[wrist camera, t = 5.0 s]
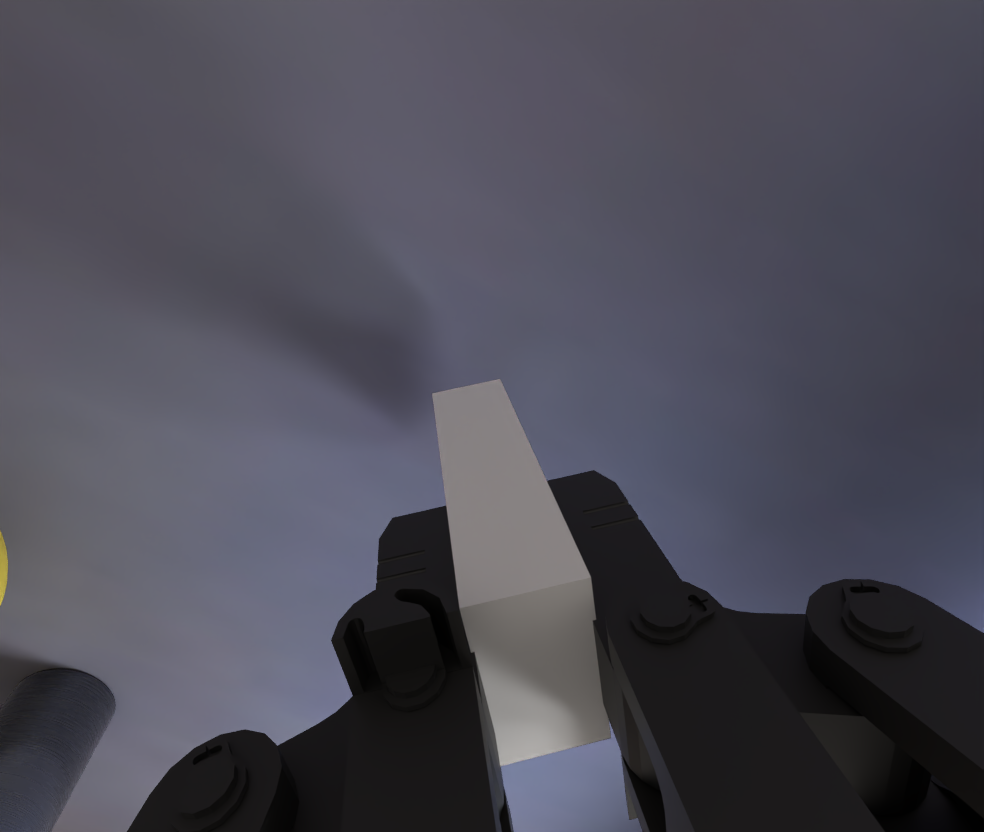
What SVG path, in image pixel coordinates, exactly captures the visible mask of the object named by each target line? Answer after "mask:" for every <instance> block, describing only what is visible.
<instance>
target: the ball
mask: <svg viewBox="0 0 984 832" xmlns="http://www.w3.org/2000/svg"><path fill="white" fill-rule="evenodd" d="M7 572H8V559H7V551H6V545H5V542H4V539H3V536H2V533H1V531H0V605H1V603H2V600H3V597H4V593H5V589H6V585H7Z"/></svg>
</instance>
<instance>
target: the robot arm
mask: <svg viewBox="0 0 984 832" xmlns="http://www.w3.org/2000/svg"><path fill="white" fill-rule="evenodd" d="M432 397H433V405H434V413H435V420H436V428H437V436H438V444H439V452H440V460H441V467H442V475H443V483H444V491H445V499H446V506H443V507H439V508H434V509H430V510H425V511H421V512H417V513H412V514H408V515H403V516H399V517H394V518H392V520H391V521H390V523H389V524H388V526H387V527H386V529H385V531H384V532H383V534H382V535H381V537H380V538H379V550H378V564H379V565H378V566H377V583H376V590H374V591H372V592H371V593H369V594H368V595H366V596H365V597H363V598H362V599H360V600H359V601H357V602H356V603H354V604H353V605H352V606H351V608H350V609H349V610H348V611H347V612H346V613H345V614H344V616H343V617H342V618H341V619H340V620H339V622H338V624H337V627H336V629H335V632H334V634H333V637H332V640H331V641H332V644H333V646H334V649H335V651H336V654H337V657H338V659H339V662H340V664H341V667H342V669H343V672H344V674H345V677H346V679H347V682H348V684H349V687H350V690H351V692H352V695H353V696H352V697H351V699H350V700H349V701H348V702H346V703H345V704H344V705H343V706H342V707H341V708H340V709H339V710H338V711H337V712H335V713H334V714H332V715H331V716H329V717H328V718H326V719H325V720H323V721H322V722H320V723H319V724H317V725H315V726H313V727H311V728H310V729H308V730H306V731H304V732H302V733H300V734H298V735H297V736H295V737H293V738H291V739H289V740H287V741H286V742H284V743H282V744H280V745H278V746H277V745H276V744H275V743H274V742H273V741H272V740H271V739H270V738H269V737H268V736H267V735H266V734H265V733H260V732H255V731H250V730H240V731H236V732H231V733H226V734H221V735H219V736H217V737H215V738H213V739H211V740H209V741H207V742H205V743H204V744H202V745H200V746H198V747H196V748H194V749H193V750H192V751H191V752H189V753H188V754H187V755H186V756H185V757H183V758H182V759H181V760H180V761H179V762H177V763H176V764H175V765H174V766H173V767H172V768H170V769H169V771H168V772H167V773H166V775H165V776H164V777H163V778H162V780H161V781H160V782H159V783H158V785H157V786H156V787H155V789H154V790H153V791H152V792H151V794H150V795H149V797H148V798H147V800H146V802H145V803H144V805H143V807H142V808H141V810H140V811H139V813H138V815H137V816H136V818H135V820H134V821H133V823H132V825H131V826H130V828H129V829H128V831H127V832H514V831H513V825H512V819H511V814H510V809H509V805H508V802H507V798H506V794H505V790H504V786H503V779H502V773H501V767H500V766H503V765H507V764H511V763H515V762H519V761H523V760H527V759H531V758H535V757H539V756H543V755H546V754H550V753H554V752H558V751H562V750H566V749H570V748H574V747H578V746H582V745H586V744H590V743H593V742H597V741H601V740H605V739H609V738H611V735H610V727H609V721H610V723H611V726H612V729H613V731H614V734H615V737H616V739H617V742H618V745H619V747H620V750H621V757H622V766H623V775H624V783H625V792H626V801H627V807H628V814H629V820H631V819H635V818H638V819H639V822H640V825H641V828H642V831H643V832H984V633H982V632H980V631H979V630H977V629H975V628H974V627H972V626H970V625H969V624H967V623H965V622H964V621H962V620H960V619H959V618H957V617H955V616H954V615H952V614H950V613H949V612H947V611H945V610H944V609H942V608H940V607H939V606H937V605H935V604H934V603H932V602H930V601H929V600H927V599H925V598H923V597H921V596H919V595H916V594H914V593H912V592H910V591H908V590H906V589H903V588H901V587H899V586H896V585H891V584H887V583H883V582H878V581H874V580H863V579H843V580H840V581H836V582H833V583H829V584H826V585H823V586H822V587H820V588H819V589H818V590H817V591H816V592H815V593H813V594H812V595H811V596H810V597H809V601H808V605H807V610H806V614H770V613H750V612H741V611H735V610H731V609H728V608H724V607H722V605H721V604H719V603H718V602H717V601H716V600H715V599H714V598H713V597H712V596H711V595H710V594H709V593H708V592H707V591H705V590H703V589H700V588H698V587H696V586H694V585H692V584H690V583H688V582H684V581H682V580H681V579H680V578H679V576H678V575H677V573H676V572H675V570H674V569H673V567H672V566H671V564H670V563H669V561H668V560H667V558H666V557H665V555H664V554H663V552H662V551H661V549H660V548H659V546H658V545H657V543H656V542H655V541H654V539H653V538H652V536H651V535H650V533H649V532H648V530H647V529H646V527H645V526H644V524H643V523H642V521H641V520H639V519H638V515H637V514H636V512H635V511H634V509H633V508H632V506H631V505H630V504H628V500H627V499H626V497H625V496H624V494H623V493H622V492H621V490H620V489H619V487H618V486H617V484H616V483H615V482H613V481H612V480H610V479H608V478H606V477H605V476H603V475H601V474H599V473H598V472H596V471H594V470H593V471H589V472H584V473H580V474H575V475H571V476H567V477H562V478H558V479H553V480H549V481H547V480H546V478H545V476H544V474H543V472H542V469H541V467H540V465H539V463H538V461H537V458H536V456H535V454H534V452H533V450H532V448H531V445H530V443H529V441H528V439H527V437H526V434H525V432H524V430H523V428H522V426H521V424H520V421H519V419H518V417H517V415H516V413H515V410H514V408H513V406H512V404H511V402H510V399H509V397H508V395H507V393H506V391H505V389H504V386H503V384H502V382H501V380H500V379H497V380H492V381H488V382H483V383H478V384H473V385H469V386H464V387H459V388H455V389H450V390H445V391H441V392H436V393H432ZM608 718H609V719H608Z"/></svg>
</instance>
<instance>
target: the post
mask: <svg viewBox="0 0 984 832" xmlns="http://www.w3.org/2000/svg"><path fill="white" fill-rule="evenodd" d="M114 712H115V699H114V696H113V694H112V693H111V691H110V690H109V689H108V687H107V686H106V685H105V684H103V683H102V682H101V681H99V680H98V679H96V678H94V677H92V676H90V675H87V674H85V673H82V672H78V671H73V670H65V669H53V670H45V671H41V672H37V673H35V674H32V675H30V676H28V677H27V678H25V679H24V680H22V681H21V682H20V683H19V684H18V686H17V687H16V688H15V690H14V691H13V692H12V694H11V695H10V696H9V698H8V699H7V700H6V702H5V703H4V704H3V706H2V707H1V708H0V832H51V831H52V829H53V828H54V826H55V824H56V822H57V820H58V818H59V816H60V814H61V812H62V811H63V809H64V807H65V805H66V803H67V801H68V799H69V797H70V796H71V794H72V792H73V790H74V788H75V786H76V784H77V782H78V780H79V779H80V777H81V775H82V773H83V771H84V769H85V767H86V765H87V763H88V762H89V760H90V758H91V756H92V754H93V752H94V750H95V748H96V746H97V745H98V743H99V741H100V739H101V737H102V735H103V733H104V731H105V729H106V728H107V726H108V724H109V722H110V720H111V718H112V716H113V714H114Z"/></svg>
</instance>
